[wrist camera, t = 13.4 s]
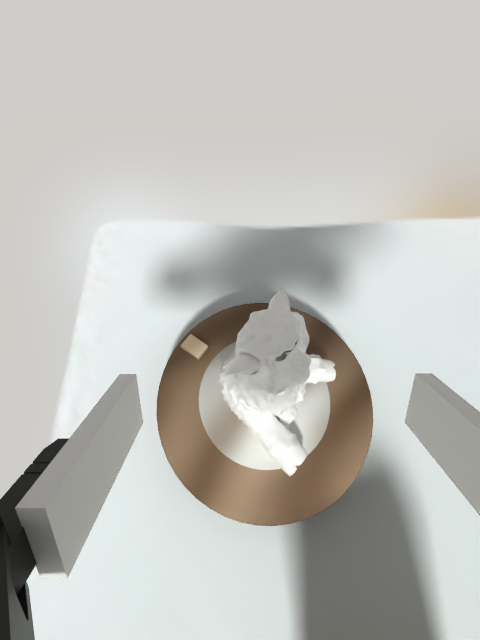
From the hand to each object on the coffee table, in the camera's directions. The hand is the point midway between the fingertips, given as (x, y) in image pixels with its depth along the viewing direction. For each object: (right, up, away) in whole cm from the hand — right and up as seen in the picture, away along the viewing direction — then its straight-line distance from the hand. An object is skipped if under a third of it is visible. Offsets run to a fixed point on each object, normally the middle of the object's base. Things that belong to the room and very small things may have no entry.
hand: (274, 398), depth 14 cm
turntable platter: (0, -3, +11) cm, 12 cm away
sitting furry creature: (+1, -3, +11) cm, 11 cm away
